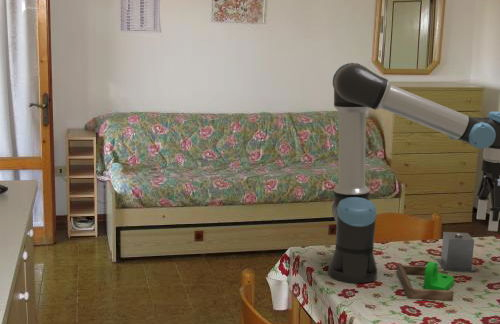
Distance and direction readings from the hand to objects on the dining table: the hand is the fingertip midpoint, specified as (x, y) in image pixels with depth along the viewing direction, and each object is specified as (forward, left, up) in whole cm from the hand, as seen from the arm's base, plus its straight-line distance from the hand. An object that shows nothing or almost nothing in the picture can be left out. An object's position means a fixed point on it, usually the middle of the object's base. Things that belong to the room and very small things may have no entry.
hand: (486, 224), depth 216 cm
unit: (-9, 0, -15) cm, 17 cm away
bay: (-23, -20, -15) cm, 34 cm away
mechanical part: (-18, -19, -15) cm, 30 cm away
